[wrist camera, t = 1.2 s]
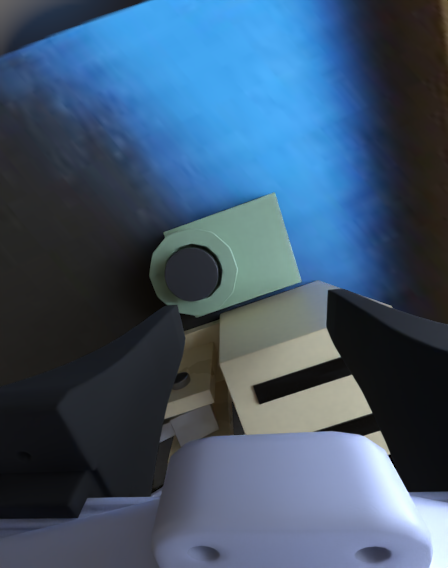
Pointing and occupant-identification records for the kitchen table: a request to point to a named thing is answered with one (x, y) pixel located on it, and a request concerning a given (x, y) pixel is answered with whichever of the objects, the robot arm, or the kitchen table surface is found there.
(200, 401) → the lever bracket
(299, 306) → the toaster
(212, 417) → the toaster lever
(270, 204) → the block
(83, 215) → the kitchen table surface
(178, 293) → the button
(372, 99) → the kitchen table surface
